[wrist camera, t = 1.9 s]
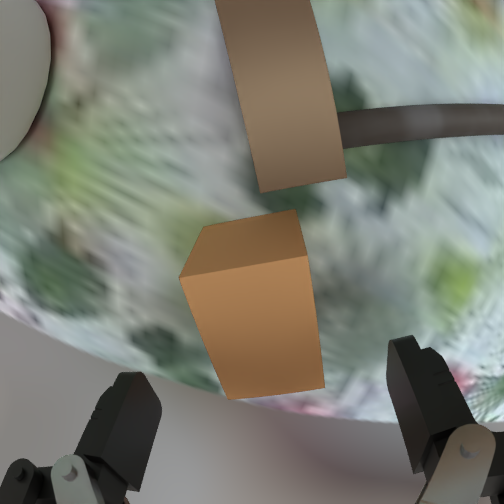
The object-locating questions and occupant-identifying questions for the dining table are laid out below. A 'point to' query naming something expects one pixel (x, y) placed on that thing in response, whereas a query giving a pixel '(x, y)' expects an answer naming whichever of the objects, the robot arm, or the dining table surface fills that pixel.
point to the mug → (21, 68)
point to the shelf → (316, 99)
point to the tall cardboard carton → (256, 305)
